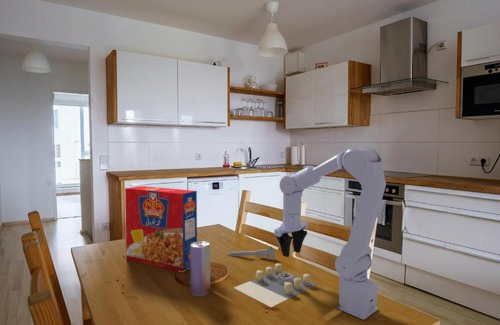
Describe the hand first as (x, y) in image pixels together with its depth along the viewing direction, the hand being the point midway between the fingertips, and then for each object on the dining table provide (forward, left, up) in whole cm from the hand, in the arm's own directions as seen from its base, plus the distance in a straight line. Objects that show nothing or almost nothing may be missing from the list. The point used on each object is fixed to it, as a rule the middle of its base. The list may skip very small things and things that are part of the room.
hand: (291, 254), depth 105 cm
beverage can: (+14, +26, -10) cm, 31 cm away
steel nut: (0, +3, -8) cm, 9 cm away
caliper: (+25, -5, -10) cm, 27 cm away
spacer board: (0, +8, -9) cm, 12 cm away
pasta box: (+45, +23, -10) cm, 51 cm away
